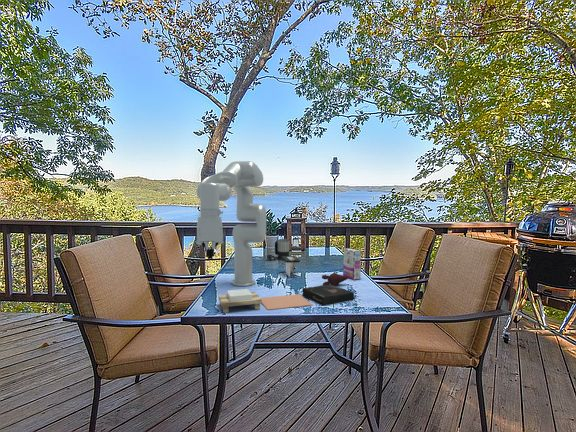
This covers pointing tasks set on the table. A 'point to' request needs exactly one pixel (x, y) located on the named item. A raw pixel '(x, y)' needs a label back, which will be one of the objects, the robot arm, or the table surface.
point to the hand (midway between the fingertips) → (210, 258)
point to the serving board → (239, 302)
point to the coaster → (239, 295)
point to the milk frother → (280, 249)
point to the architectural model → (290, 263)
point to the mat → (284, 302)
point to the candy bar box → (352, 263)
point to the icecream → (334, 279)
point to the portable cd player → (327, 294)
